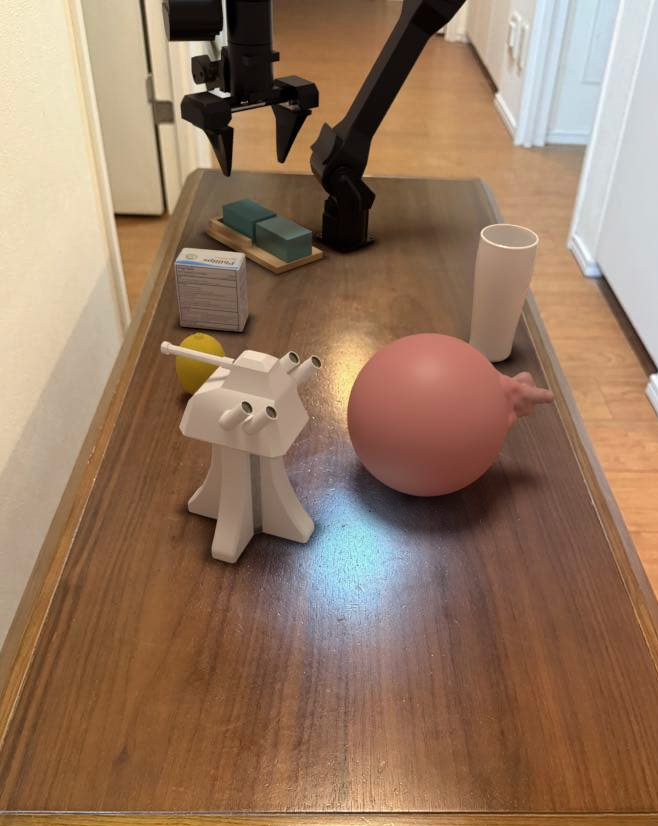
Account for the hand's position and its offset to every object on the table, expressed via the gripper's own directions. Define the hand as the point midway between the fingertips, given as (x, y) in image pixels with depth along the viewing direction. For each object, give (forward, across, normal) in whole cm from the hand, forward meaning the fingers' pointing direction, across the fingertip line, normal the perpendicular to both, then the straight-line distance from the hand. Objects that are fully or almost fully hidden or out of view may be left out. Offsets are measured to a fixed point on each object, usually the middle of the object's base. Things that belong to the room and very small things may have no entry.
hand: (254, 169), depth 115 cm
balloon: (+11, +17, +54) cm, 58 cm away
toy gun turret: (+11, +37, +47) cm, 61 cm away
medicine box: (+11, +17, +14) cm, 25 cm away
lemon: (+11, +28, +28) cm, 41 cm away
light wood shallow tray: (+11, -1, 0) cm, 11 cm away
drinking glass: (+11, -5, +41) cm, 43 cm away
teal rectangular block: (+10, -1, -3) cm, 11 cm away
